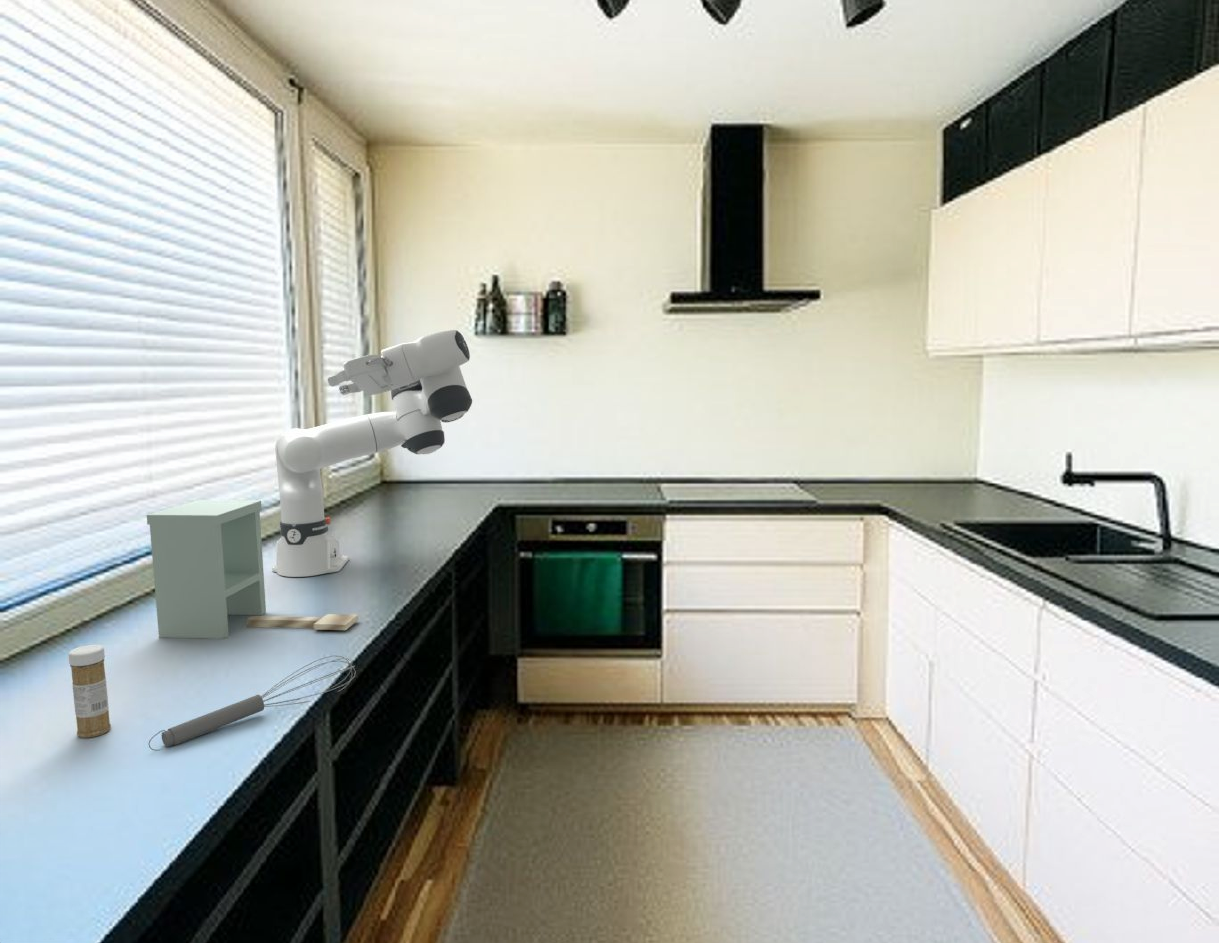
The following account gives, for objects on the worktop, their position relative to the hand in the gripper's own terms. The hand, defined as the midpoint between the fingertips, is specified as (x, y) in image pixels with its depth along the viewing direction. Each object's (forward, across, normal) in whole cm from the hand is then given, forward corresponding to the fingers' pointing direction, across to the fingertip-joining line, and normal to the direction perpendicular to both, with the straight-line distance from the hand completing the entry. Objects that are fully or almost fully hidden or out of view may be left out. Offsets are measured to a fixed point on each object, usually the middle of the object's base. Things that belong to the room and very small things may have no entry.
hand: (334, 387), depth 177 cm
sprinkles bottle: (+43, -44, -52) cm, 81 cm away
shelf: (+42, +7, -40) cm, 58 cm away
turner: (+23, +4, -45) cm, 51 cm away
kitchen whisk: (+20, -40, -59) cm, 74 cm away
